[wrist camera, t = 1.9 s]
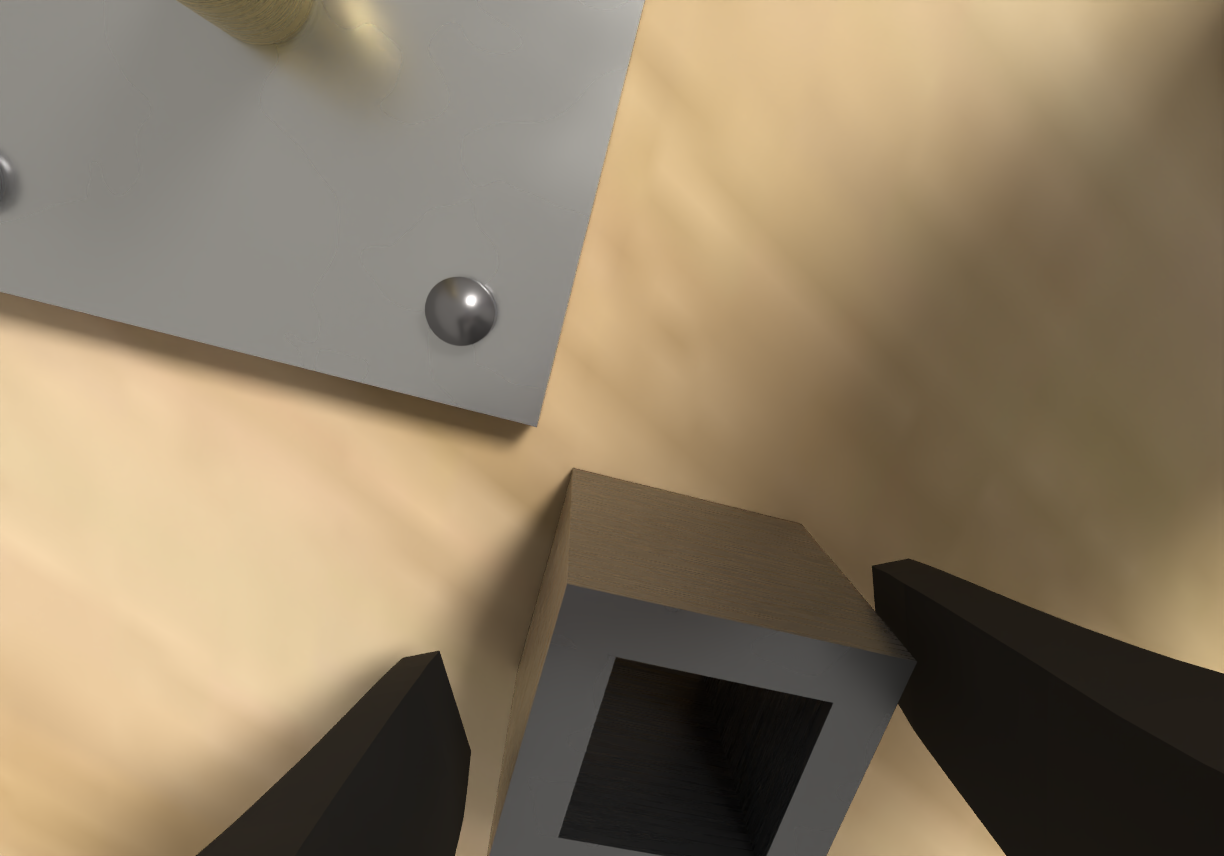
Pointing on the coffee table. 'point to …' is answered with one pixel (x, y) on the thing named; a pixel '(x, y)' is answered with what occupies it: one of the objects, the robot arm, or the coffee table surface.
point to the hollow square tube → (690, 685)
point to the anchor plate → (316, 177)
